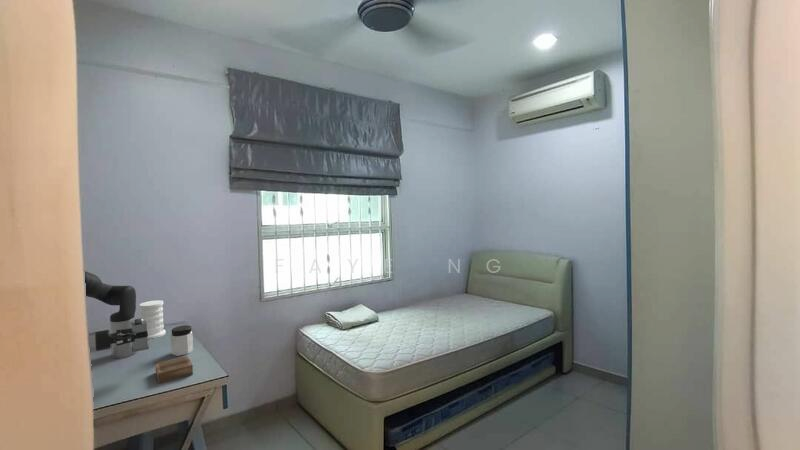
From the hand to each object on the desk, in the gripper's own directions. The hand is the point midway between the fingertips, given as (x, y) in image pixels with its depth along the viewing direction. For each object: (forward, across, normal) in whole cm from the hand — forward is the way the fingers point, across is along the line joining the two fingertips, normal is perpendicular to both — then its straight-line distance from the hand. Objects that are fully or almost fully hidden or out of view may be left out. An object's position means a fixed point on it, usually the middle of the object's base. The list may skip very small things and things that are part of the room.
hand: (147, 332), depth 152 cm
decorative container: (+5, +52, +18) cm, 55 cm away
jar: (+14, +15, +18) cm, 27 cm away
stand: (+8, -8, +18) cm, 21 cm away
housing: (-3, 0, +6) cm, 7 cm away
